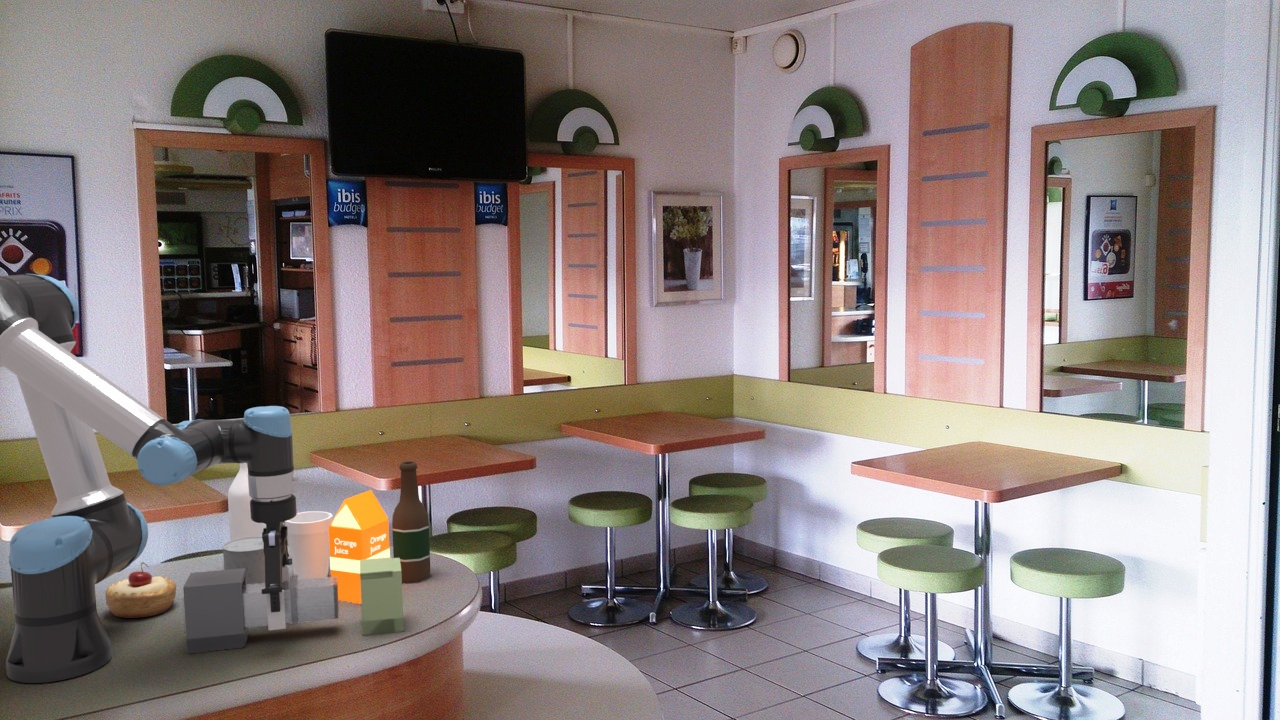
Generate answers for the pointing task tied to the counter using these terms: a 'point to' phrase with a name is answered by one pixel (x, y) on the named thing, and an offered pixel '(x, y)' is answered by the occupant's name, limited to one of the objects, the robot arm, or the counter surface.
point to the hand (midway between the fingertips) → (280, 615)
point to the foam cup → (309, 543)
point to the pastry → (140, 595)
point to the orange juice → (356, 541)
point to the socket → (381, 595)
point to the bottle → (242, 508)
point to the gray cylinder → (246, 558)
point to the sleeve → (214, 610)
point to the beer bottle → (411, 529)
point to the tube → (291, 601)
